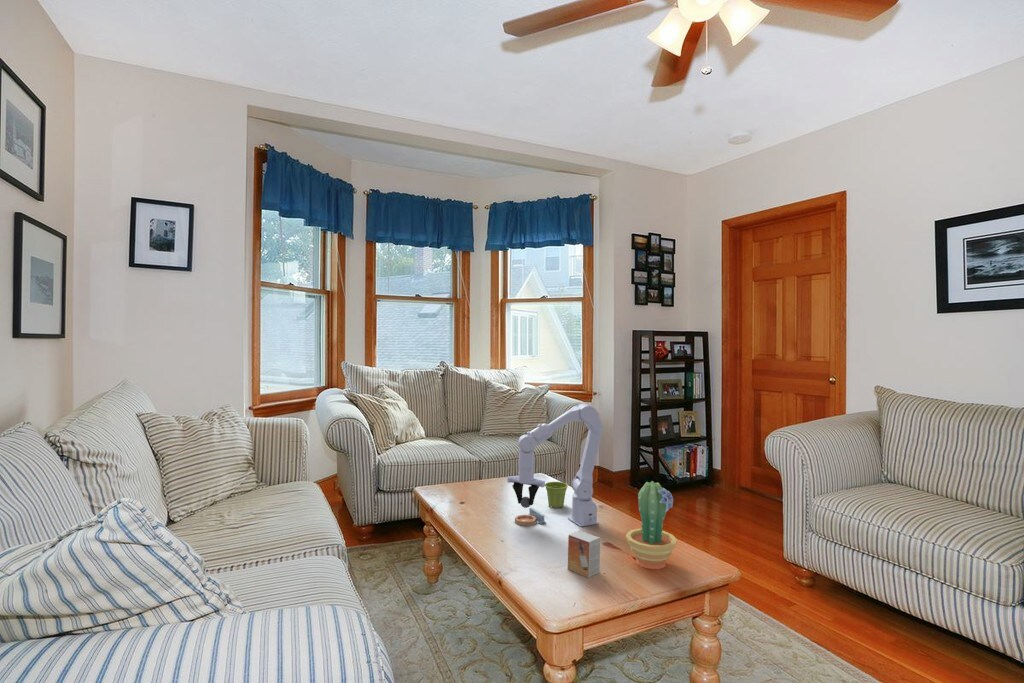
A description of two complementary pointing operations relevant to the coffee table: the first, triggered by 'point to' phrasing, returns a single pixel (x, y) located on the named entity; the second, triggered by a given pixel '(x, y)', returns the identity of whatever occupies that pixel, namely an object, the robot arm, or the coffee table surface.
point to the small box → (584, 553)
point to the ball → (525, 502)
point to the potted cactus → (652, 528)
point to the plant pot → (556, 493)
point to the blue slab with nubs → (537, 515)
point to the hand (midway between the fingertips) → (525, 503)
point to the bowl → (525, 520)
